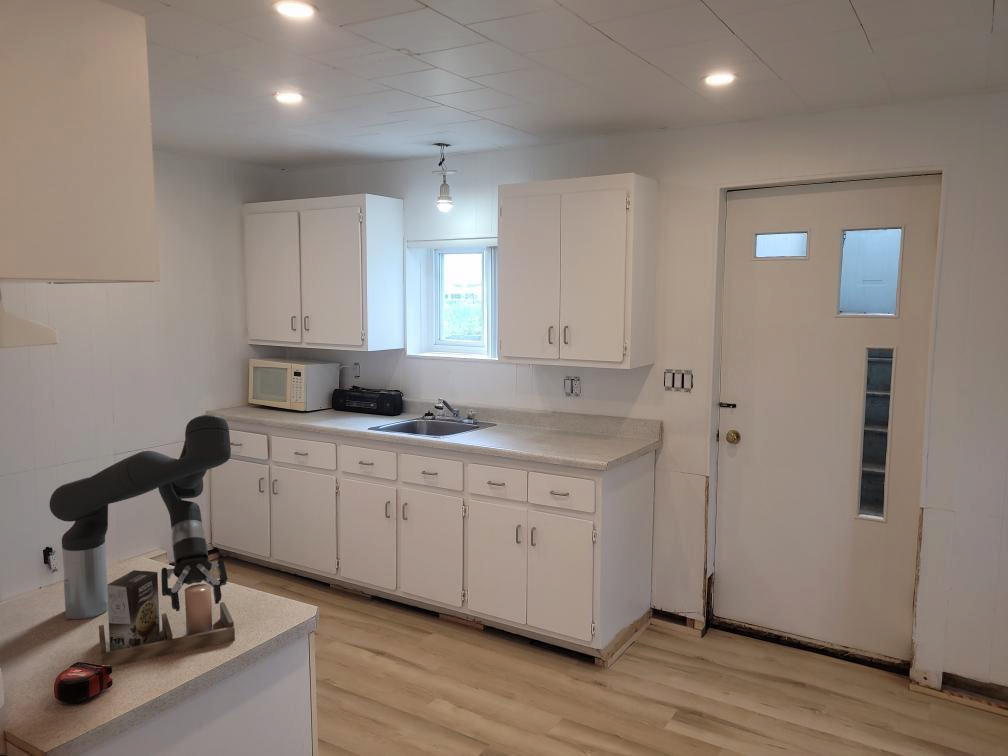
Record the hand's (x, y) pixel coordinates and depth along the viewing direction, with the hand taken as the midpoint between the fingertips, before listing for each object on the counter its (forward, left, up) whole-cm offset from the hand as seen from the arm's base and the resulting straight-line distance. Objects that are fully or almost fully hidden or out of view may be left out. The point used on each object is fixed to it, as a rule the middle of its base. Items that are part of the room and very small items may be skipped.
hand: (198, 606), depth 173 cm
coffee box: (-13, +1, -7) cm, 15 cm away
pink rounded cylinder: (0, 0, -7) cm, 7 cm away
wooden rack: (-7, 0, -7) cm, 10 cm away
